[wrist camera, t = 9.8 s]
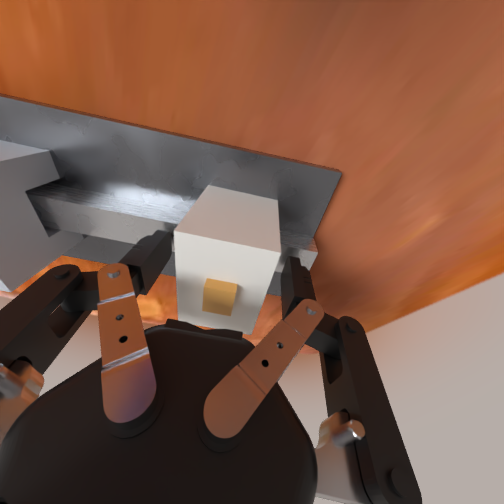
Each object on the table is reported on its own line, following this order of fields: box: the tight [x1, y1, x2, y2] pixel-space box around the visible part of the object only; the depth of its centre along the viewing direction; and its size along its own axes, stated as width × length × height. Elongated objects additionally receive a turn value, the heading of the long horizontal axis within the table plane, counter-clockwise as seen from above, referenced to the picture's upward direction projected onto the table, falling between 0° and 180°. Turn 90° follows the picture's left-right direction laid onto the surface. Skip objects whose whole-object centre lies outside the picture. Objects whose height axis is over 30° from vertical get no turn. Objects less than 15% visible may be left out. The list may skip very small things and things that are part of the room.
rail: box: [0, 93, 342, 296], centre depth 15 cm, size 12×26×3 cm, turn 79°
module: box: [174, 185, 281, 335], centre depth 13 cm, size 7×5×7 cm
